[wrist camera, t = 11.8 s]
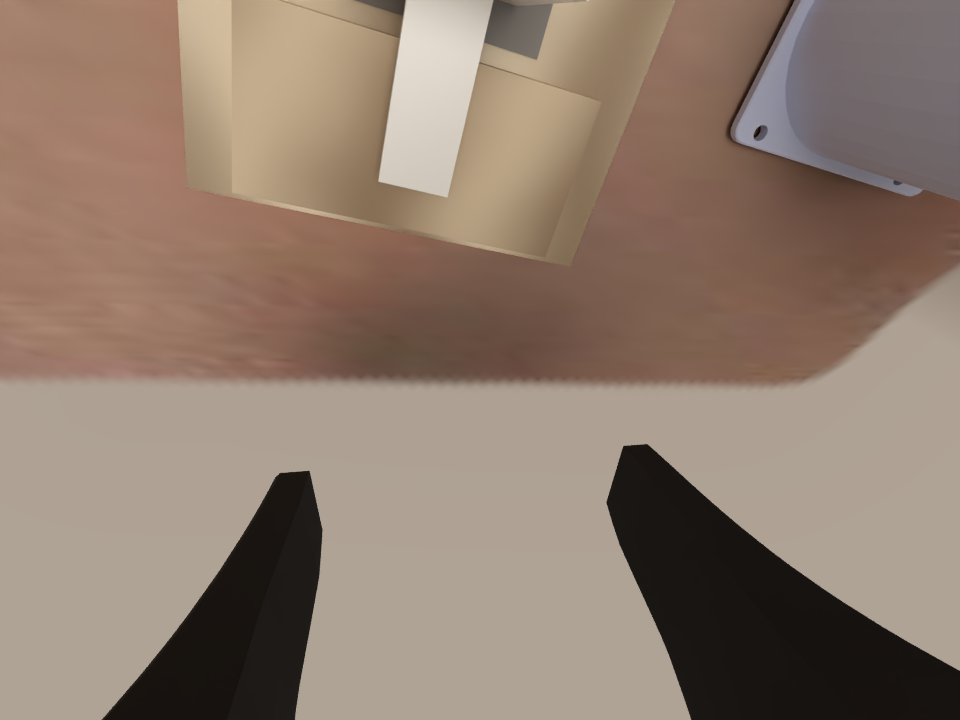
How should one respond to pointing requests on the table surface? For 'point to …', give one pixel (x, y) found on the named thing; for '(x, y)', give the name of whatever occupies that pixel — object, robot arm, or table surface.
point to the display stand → (365, 103)
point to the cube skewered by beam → (434, 90)
